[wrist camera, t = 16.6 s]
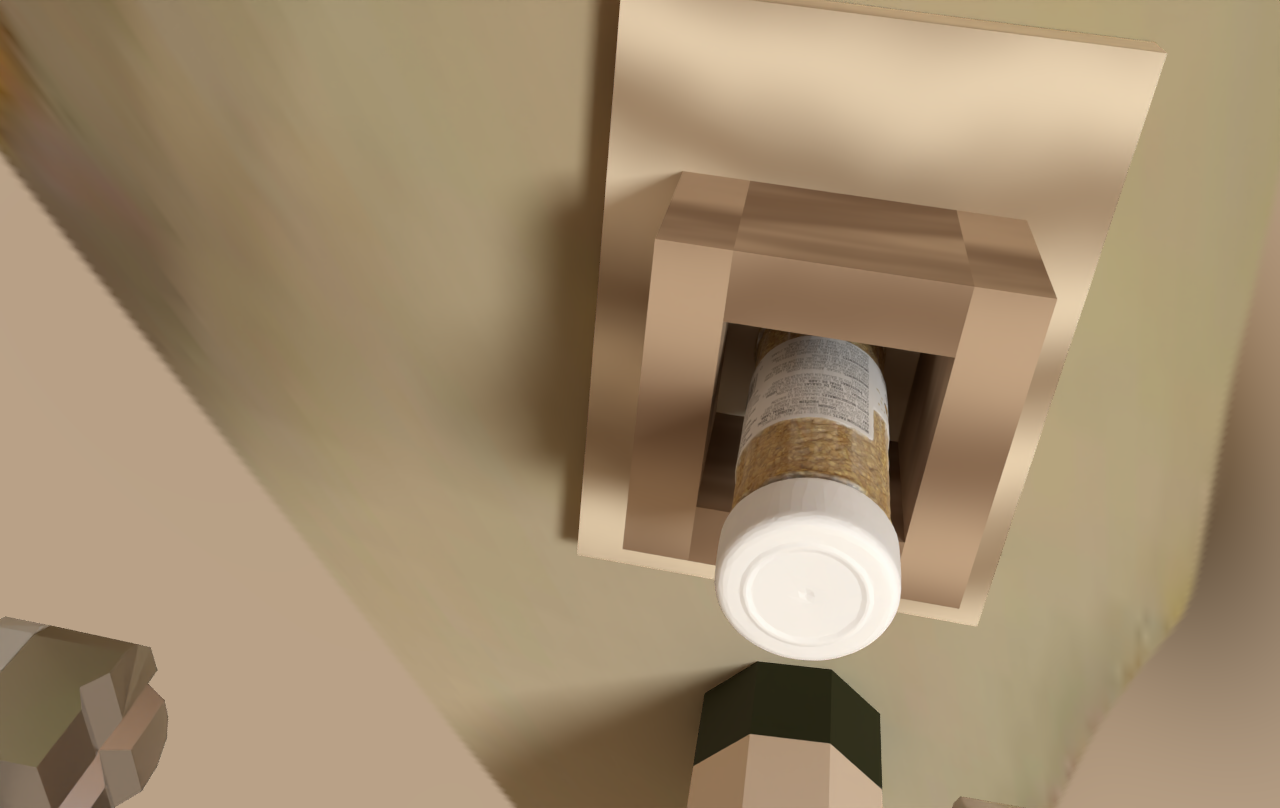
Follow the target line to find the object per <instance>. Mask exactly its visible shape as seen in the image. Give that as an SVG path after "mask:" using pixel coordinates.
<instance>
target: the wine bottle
mask: <svg viewBox="0 0 1280 808" xmlns="http://www.w3.org/2000/svg"><path fill="white" fill-rule="evenodd" d="M687 808H883V800H882V767H881V734H880V714H879V713H878V712H877V711H876V710H875V709H874V708H873V707H872V706H871V705H870V704H868V703H867V702H866V701H865V700H864V699H863V698H862V697H861V696H860V695H859V694H858V693H856V692H855V691H854V690H853V689H852V688H851V687H850V686H849V685H848V684H847V683H846V682H844V681H843V680H842V679H841V678H840V677H839V676H838V675H837V674H836V673H835V672H834V671H832V670H828V669H819V668H809V667H800V666H791V665H782V664H773V663H764V662H756V663H755V664H753V665H751V666H750V667H748V668H746V669H745V670H743V671H742V672H740V673H738V674H737V675H735V676H733V677H732V678H730V679H728V680H727V681H725V682H723V683H722V684H720V685H719V686H717V687H715V688H714V689H712V690H710V691H709V692H707V693H705V695H704V702H703V708H702V714H701V721H700V727H699V733H698V740H697V746H696V752H695V759H694V765H693V771H692V778H691V784H690V790H689V797H688V803H687Z"/></svg>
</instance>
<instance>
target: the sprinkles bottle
mask: <svg viewBox="0 0 1280 808" xmlns="http://www.w3.org/2000/svg"><path fill="white" fill-rule="evenodd" d="M754 355H755V356H754V359H755V363H756V366H755V371H754V373H753V376H752V378H751V382H750V386H749V391H748V398H747V404H746V410H745V416H744V422H743V428H742V435H741V441H740V447H739V452H738V458H737V464H736V470H735V484H736V485H735V490H734V498H733V503H732V509H731V511H730V514H729V515H728V517H727V519H726V520H725V522H724V525H723V527H722V530H721V535H720V539H719V545H718V551H717V559H716V568H715V591H716V595H717V599H718V602H719V606H720V607H721V610H722V612H723V613H724V615H725V617H726V618H727V620H728V621H729V622H730V624H731V625H732V626H733V627H734V628H735V629H736V631H737V632H738V633H740V634H741V635H742V636H743V637H745V638H746V639H747V640H749V641H750V642H751V643H753V644H754V645H756V646H758V647H760V648H762V649H763V650H766V651H768V652H771V653H773V654H776V655H779V656H783V657H787V658H792V659H799V660H813V661H814V660H828V659H834V658H839V657H842V656H845V655H848V654H851V653H854V652H856V651H858V650H860V649H862V648H864V647H866V646H867V645H869V644H870V643H872V642H873V641H874V640H876V639H877V638H878V637H879V636H880V635H882V633H883V632H884V631H885V630H886V629H887V627H888V626H889V625H890V623H891V622H892V620H893V618H894V616H895V614H896V612H897V609H898V606H899V602H900V596H901V563H900V549H899V542H898V537H897V534H896V532H895V529H894V527H893V525H892V521H891V518H890V514H891V512H890V489H889V458H888V448H889V421H888V402H887V390H886V384H885V381H884V372H883V370H884V364H885V357H886V347H883V346H877V345H870V344H864V343H857V342H851V341H845V340H838V339H832V338H825V337H819V336H813V335H806V334H800V333H793V332H787V331H781V330H774V329H768V328H761V327H760V329H759V333H758V336H757V338H756V343H755V349H754Z"/></svg>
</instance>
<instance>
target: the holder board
mask: <svg viewBox="0 0 1280 808" xmlns="http://www.w3.org/2000/svg"><path fill="white" fill-rule="evenodd" d="M1166 56H1167V53H1166V52H1165V51H1164V50H1163V49H1162V48H1161V47H1160V46H1159V45H1157V44H1156V43H1155V42H1149V41H1141V40H1134V39H1126V38H1118V37H1110V36H1102V35H1094V34H1086V33H1078V32H1071V31H1063V30H1055V29H1047V28H1039V27H1031V26H1023V25H1015V24H1008V23H1000V22H992V21H984V20H976V19H968V18H960V17H952V16H945V15H937V14H929V13H921V12H913V11H905V10H897V9H889V8H882V7H874V6H866V5H858V4H850V3H842V2H834V1H826V0H620V12H619V24H618V37H617V50H616V63H615V75H614V88H613V101H612V114H611V127H610V139H609V152H608V165H607V178H606V190H605V203H604V216H603V229H602V242H601V254H600V267H599V280H598V293H597V305H596V318H595V331H594V344H593V357H592V369H591V382H590V395H589V408H588V420H587V433H586V446H585V459H584V471H583V484H582V497H581V510H580V523H579V535H578V548H577V555H581V556H586V557H592V558H598V559H603V560H609V561H614V562H620V563H626V564H631V565H637V566H642V567H648V568H653V569H659V570H665V571H670V572H676V573H681V574H687V575H693V576H698V577H704V578H709V579H715V568H716V559H717V551H718V545H719V539H720V535H721V530H722V527H723V525H724V522H725V520H726V519H727V517H728V515H729V514H730V511H731V509H732V503H733V498H734V490H735V485H736V484H735V470H736V464H737V458H738V452H739V447H740V441H741V435H742V428H743V422H744V416H745V410H746V404H747V398H748V391H749V386H750V382H751V378H752V376H753V373H754V371H755V366H756V363H755V359H754V356H755V355H754V349H755V343H756V338H757V336H758V333H759V329H760V327H761V328H768V329H774V330H781V331H787V332H793V333H800V334H806V335H813V336H819V337H825V338H832V339H838V340H845V341H851V342H857V343H864V344H870V345H877V346H883V347H886V357H885V364H884V370H883V372H884V381H885V384H886V390H887V402H888V421H889V448H888V458H889V489H890V512H891V514H890V518H891V521H892V525H893V527H894V529H895V532H896V534H897V537H898V542H899V549H900V563H901V596H900V602H899V606H898V609H897V612H899V613H905V614H910V615H916V616H922V617H927V618H933V619H938V620H944V621H949V622H955V623H961V624H966V625H972V626H977V625H978V622H979V619H980V616H981V613H982V610H983V607H984V604H985V601H986V598H987V595H988V592H989V589H990V586H991V583H992V580H993V577H994V574H995V571H996V568H997V565H998V562H999V559H1000V556H1001V553H1002V550H1003V547H1004V544H1005V541H1006V538H1007V535H1008V532H1009V529H1010V526H1011V523H1012V520H1013V517H1014V514H1015V511H1016V508H1017V505H1018V502H1019V499H1020V496H1021V493H1022V490H1023V487H1024V484H1025V481H1026V478H1027V475H1028V472H1029V469H1030V466H1031V463H1032V460H1033V456H1034V453H1035V450H1036V447H1037V444H1038V441H1039V438H1040V435H1041V432H1042V429H1043V426H1044V423H1045V420H1046V417H1047V414H1048V411H1049V408H1050V405H1051V402H1052V399H1053V396H1054V393H1055V390H1056V387H1057V384H1058V381H1059V378H1060V375H1061V372H1062V369H1063V366H1064V363H1065V360H1066V357H1067V354H1068V351H1069V348H1070V345H1071V342H1072V339H1073V336H1074V333H1075V330H1076V327H1077V324H1078V321H1079V318H1080V315H1081V312H1082V309H1083V306H1084V303H1085V300H1086V297H1087V294H1088V291H1089V288H1090V285H1091V282H1092V279H1093V276H1094V273H1095V270H1096V267H1097V264H1098V261H1099V258H1100V255H1101V252H1102V249H1103V246H1104V243H1105V240H1106V236H1107V233H1108V230H1109V227H1110V224H1111V221H1112V218H1113V215H1114V212H1115V209H1116V206H1117V203H1118V200H1119V197H1120V194H1121V191H1122V188H1123V185H1124V182H1125V179H1126V176H1127V173H1128V170H1129V167H1130V164H1131V161H1132V158H1133V155H1134V152H1135V149H1136V146H1137V143H1138V140H1139V137H1140V134H1141V131H1142V128H1143V125H1144V122H1145V119H1146V116H1147V113H1148V110H1149V107H1150V104H1151V101H1152V98H1153V95H1154V92H1155V89H1156V86H1157V83H1158V80H1159V77H1160V74H1161V71H1162V68H1163V65H1164V62H1165V59H1166Z"/></svg>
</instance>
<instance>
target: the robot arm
mask: <svg viewBox="0 0 1280 808" xmlns="http://www.w3.org/2000/svg"><path fill="white" fill-rule="evenodd" d="M156 671H157V667H156V664H155V661H154V657H153V654H152V650H151V648H150V647H147V646H143V645H138V644H133V643H129V642H124V641H120V640H115V639H110V638H106V637H101V636H97V635H92V634H88V633H83V632H78V631H73V630H69V629H64V628H60V627H55V626H51V625H45V624H40V623H35V622H29V621H25V620H20V619H15V618H10V617H4V618H2V619H0V808H115V807H116V806H118V805H119V804H121V803H123V802H124V801H126V800H128V799H129V798H131V797H133V796H134V795H136V794H138V793H139V792H141V791H142V790H143V788H144V787H145V785H146V783H147V782H148V780H149V779H150V777H151V775H152V774H153V772H154V771H155V769H156V767H157V765H158V762H159V759H160V757H161V754H162V751H163V748H164V745H165V742H166V739H167V727H168V715H167V709H166V705H165V700H164V699H163V698H162V697H161V696H160V695H159V694H158V693H157V692H156V691H155V690H154V689H153V688H152V687H151V686H150V685H149V684H148V683H149V681H150V680H151V679H152V677H153V676H154V674H155V673H156ZM952 808H1024V807H1019V806H1013V805H1007V804H1001V803H995V802H990V801H984V800H978V799H972V798H967V797H961V796H960V797H959V798H958V799H957V800H956V801H955V802H954V804H953V807H952Z"/></svg>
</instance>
